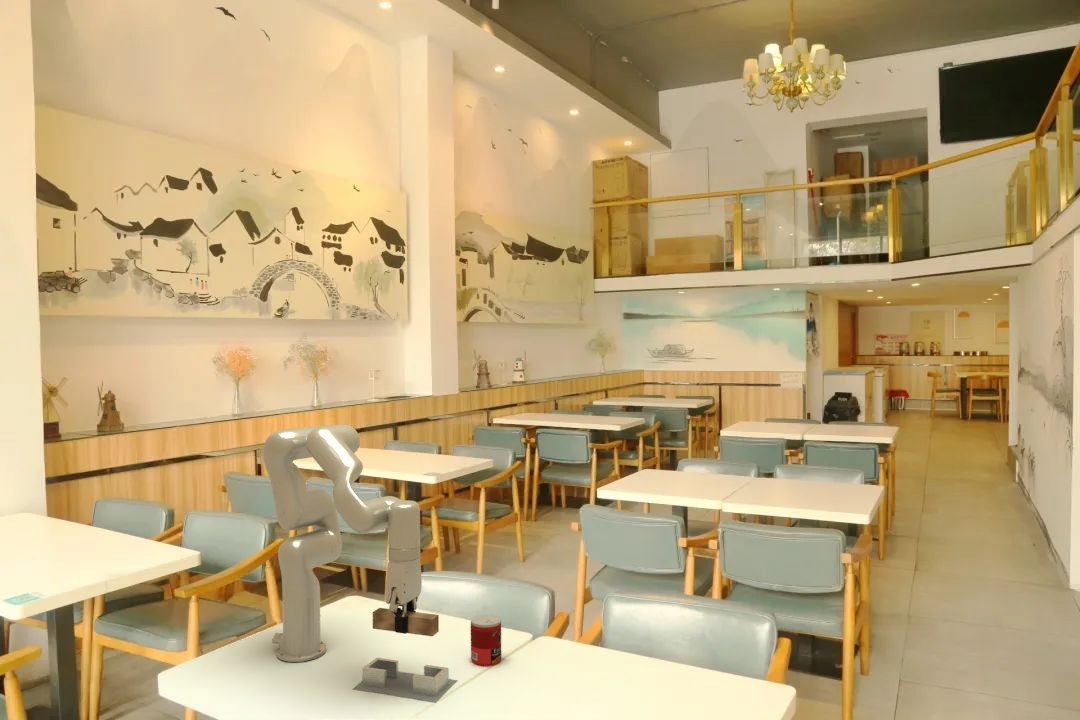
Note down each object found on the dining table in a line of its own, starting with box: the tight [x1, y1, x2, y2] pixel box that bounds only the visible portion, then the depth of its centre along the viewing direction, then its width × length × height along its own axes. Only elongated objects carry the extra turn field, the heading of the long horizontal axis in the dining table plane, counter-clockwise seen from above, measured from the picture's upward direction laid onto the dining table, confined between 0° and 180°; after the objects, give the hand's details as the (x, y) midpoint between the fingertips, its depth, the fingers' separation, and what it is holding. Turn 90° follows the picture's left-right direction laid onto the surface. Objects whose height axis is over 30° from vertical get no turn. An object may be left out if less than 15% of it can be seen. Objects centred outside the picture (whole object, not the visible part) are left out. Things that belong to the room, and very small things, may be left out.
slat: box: [372, 607, 440, 637], centre depth 178 cm, size 16×3×4 cm, turn 71°
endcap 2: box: [413, 664, 450, 697], centre depth 176 cm, size 6×7×4 cm
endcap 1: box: [361, 657, 399, 688], centre depth 180 cm, size 6×7×4 cm
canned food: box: [470, 614, 502, 667], centre depth 192 cm, size 8×8×11 cm
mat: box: [352, 670, 458, 704], centre depth 178 cm, size 22×12×1 cm, turn 71°
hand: (405, 628), depth 178 cm, fingers closed on slat, 3 cm apart
